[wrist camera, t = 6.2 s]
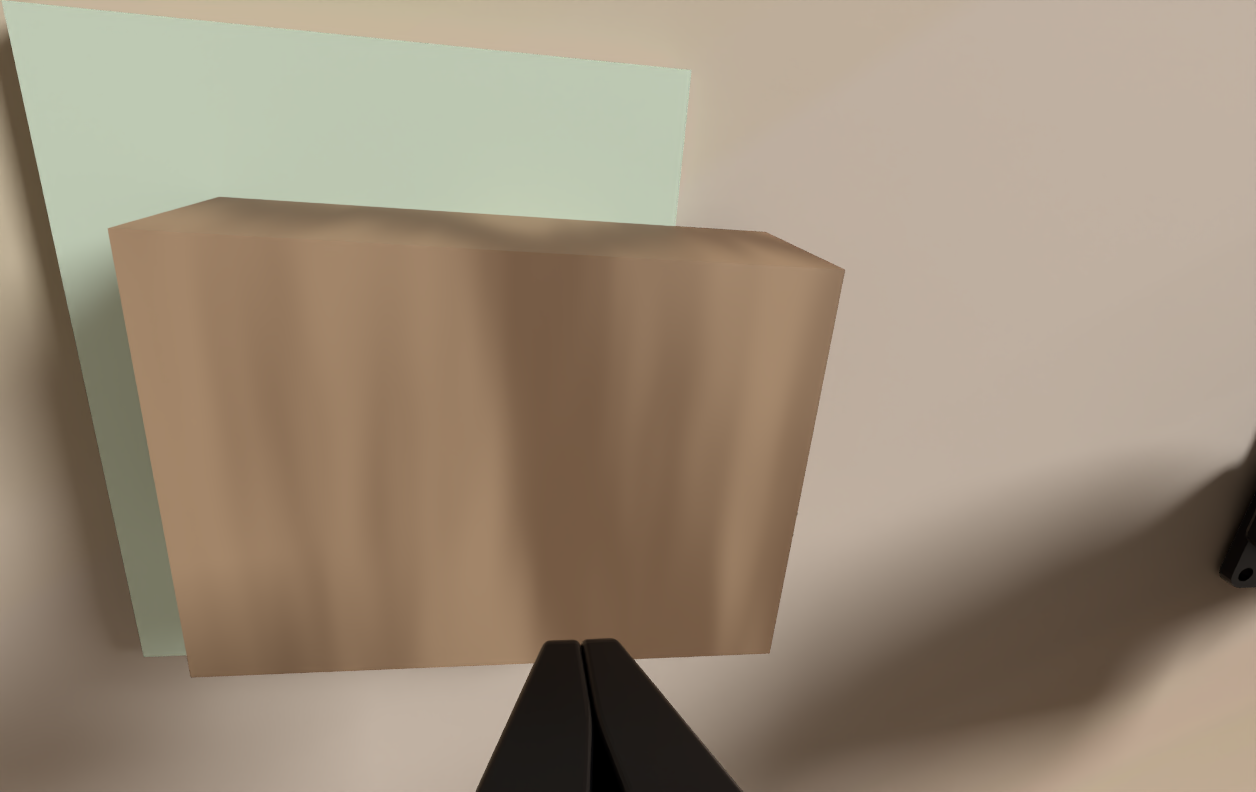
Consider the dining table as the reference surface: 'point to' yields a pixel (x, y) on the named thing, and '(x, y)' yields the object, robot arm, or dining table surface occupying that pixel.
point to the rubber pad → (301, 170)
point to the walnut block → (469, 430)
